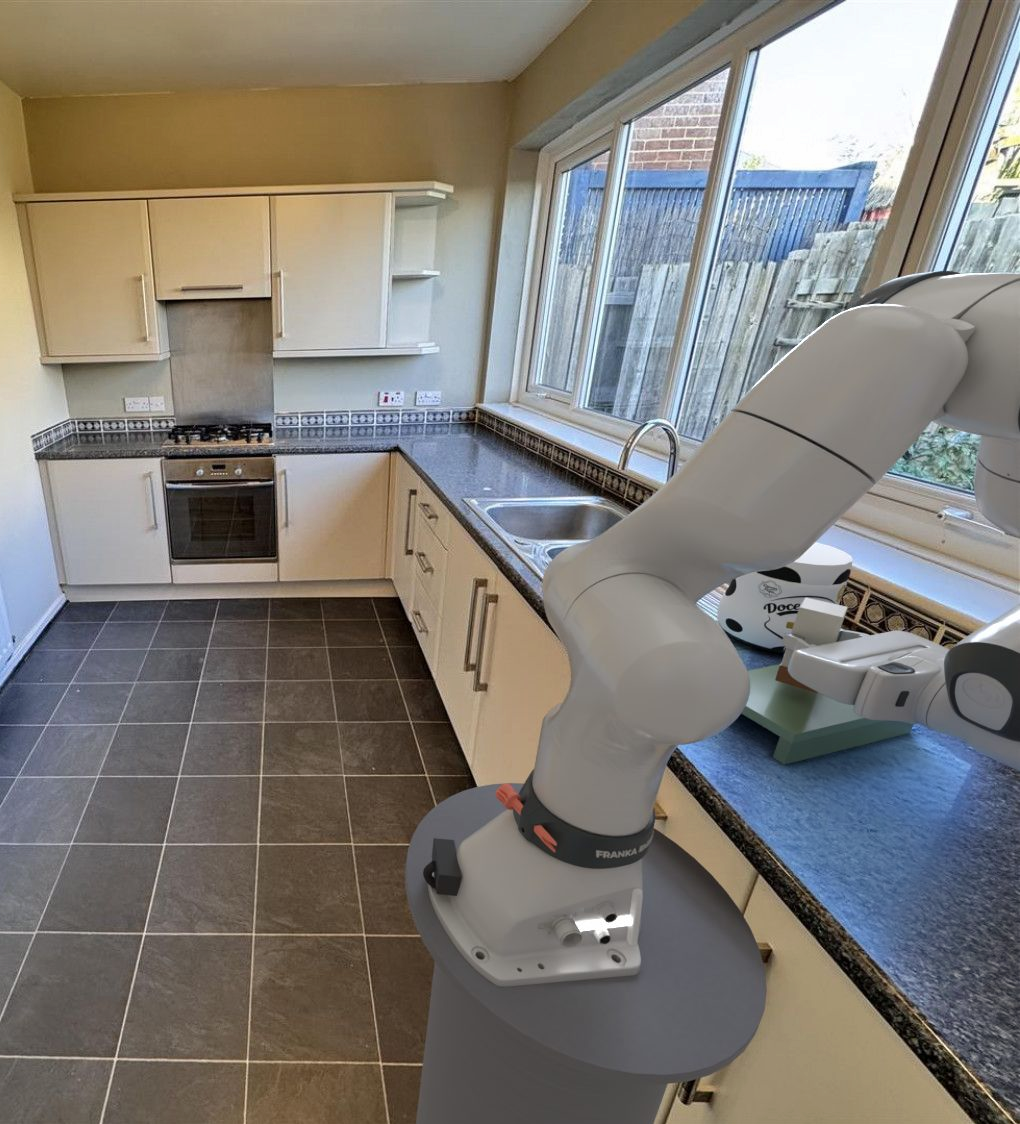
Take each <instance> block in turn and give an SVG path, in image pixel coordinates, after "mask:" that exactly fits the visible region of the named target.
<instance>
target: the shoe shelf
mask: <svg viewBox="0 0 1020 1124" xmlns="http://www.w3.org/2000/svg"><path fill="white" fill-rule="evenodd" d="M780 664H781V663H779V664H773V665H767V666H764V667H758V668H753V669H747V671H748V674H749V677H750V695H749V699H748V702H747V704H746V706H745V708H744V710H743V711H742V713H741V714H740V715H743V716H745V717H746V718H748V719H750V720H752V721H753V722H755V723H756V724H758V725H760V726H761V727H763V728H765V729H767V730H768V731H769V732H772V733H773V734H775V735H777V736H778V737H779V738H778V741H777V744H776V746H775V750H774V752H773V755H772V758H773V759H774V760H776V761H777V762H779V763H781V765H784V766H785V765H788V764H792V763H796V762H800V761H804V760H809V759H812V758H816V757H817V758H818V757H821V756H825V755H828V754H832V753H837V752H840V751H845V750H849V749H852V748H856V747H859V746H864V745H868V744H872V743H877V742H880V741H885V740H888V739H892V738H895V737H899V736H904V735H908V734H911V731H912V729H913V727H914V725H915V724H911V723H906V722H901V721H890V720H869V719H866V718H864V717H862V716H860V715H858V714H856V713H855V712H854V711H853V708H854V705H848V704H844V703H840V702H838V701H835V700H833V699H831V698H828V697H826V696H824V695H822V694H820V693H819V692H818V693H814V692H811V691H808V690H805V689H801V688H798V687H795V686H792V685H788V684H785V683H782V682H779V681H775V679H776V675H777V672H778V669H779V666H780Z"/></svg>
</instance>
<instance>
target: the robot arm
mask: <svg viewBox="0 0 1020 1124" xmlns="http://www.w3.org/2000/svg"><path fill="white" fill-rule="evenodd" d="M932 422H933V423H934V424H936V425H938V426H941V427H943V428H944V427H945V428H948V429H952V430H955V431H960V432H964V433H967V434H972V435H977V436H980V438H979V439H980V440H979V445H978V449H977V456H976V461H975V467H974V472H973V473H974V474H973V493H974V500H975V503H976V506H977V509H978V512H979V514H980V515H982V516H983V517H984V518H985V519H986V520H987V521H988V522H990V523H991V524H992V525H994V526H995V527H997V528H999V529H1000V530H1002V531H1003V532H1006V533H1008V534H1009V535H1012V536H1015V537H1016V538H1020V272H984V273H980V272H979V273H960V272H957V271H953V270H939V271H938V270H937V271H927V272H920V273H913V274H908V275H904V276H900V277H897V278H896V277H895V278H894V279H891V280H889V281H886V282H884V283H882V284H880V285H878V286H877V287H875V288H873V289H872V290H871V291H869V292H868V293H866V294H865V295H863V297H861V298H859V300H857V301H856V302H855V303H854V304H853V305H852V306H851V307H850V308H849V309H846V310H844V311H841V312H840V313H838V314H836V315H834V316H831V318H829V319H827V320H826V321H825V322H824V323H822V324H821V325H820V326H819V327H817V328H816V329H815V330H814V331H812V332H811V333H810V334H808V335H807V336H806V337H805V338H804V339H803V340H801V341H800V342H799V343H798V344H797V345H796V346H795V347H793V348H792V349H791V350H790V351H789V352H788V353H787V354H785V355H784V356H783V357H782V358H781V359H779V361H778V362H776V364H775V365H773V367H771V368H770V369H769V370H768V371H767V372H766V373H765V374H764V375H762V377H761V378H760V379H759V380H758V381H757V382H756V383H755V384H754V385H753V386H752V387H751V388H750V389H749V390H748V391H746V393H745V395H744V396H743V397H741V399H740V400H739V401H738V402H737V403H736V404H735V405H734V406H733V408H731V410H730V411H729V412H728V413H727V414H726V415H725V417H724V418H723V419H722V420H721V421H720V422H719V423H718V425H716V427H715V428H714V429H713V430H712V431H711V432H710V434H708V436H707V437H706V438H705V440H703V441H702V443H700V445H699V446H698V447H697V448H696V450H695V451H694V452H693V453H692V454H691V455H690V456H689V457H688V458H687V460H685V462H684V463H683V464H682V465H681V466H680V467H679V468H678V469H677V470H676V472H674V474H673V475H672V476H671V477H670V478H669V479H668V480H666V482H665V483H664V484H663V485H662V486H661V487H659V489H658V490H656V492H654V493H653V494H652V495H650V497H648V498H647V499H646V500H645V501H644V502H642V503H641V504H640V505H639V506H638V507H636V508H635V509H634V510H632V511H631V512H630V513H628V514H627V515H626V516H624V517H623V518H621V519H620V520H619V521H617V522H616V523H615V524H613V525H612V526H611V527H609V528H608V529H607V530H605V531H603V532H602V533H600V535H597V536H596V537H594V538H593V539H590V540H587V541H586V540H585V541H582V542H578V543H575V544H572V545H571V546H568V547H566V548H564V549H563V550H561V551H560V552H559V553H558V554H556V556H554V557H553V558H552V560H551V561H550V562H549V564H548V565H547V566H546V568H545V571H544V573H543V576H542V580H541V581H542V582H541V588H542V589H541V590H542V599H543V600H542V601H543V606H544V611H545V615H546V618H547V621H548V623H549V624H550V626H551V628H552V629H553V631H554V632H555V635H556V636H557V638H558V639H559V641H560V642H561V645H562V646H563V647H564V650H565V652H566V654H567V659H568V663H569V670H570V682H569V686H568V690H567V692H566V694H565V696H564V698H563V701H562V702H560V703H558V704H556V705H554V706H553V707H550V709H549V710H548V711H547V712H546V713H545V715H544V717H543V718H542V722H541V728H540V733H539V739H538V744H537V750H536V755H535V761H534V768H533V769H532V770H531V771H530V773H529V775H528V777H526V780H525V781H524V785H523V787H522V788H521V790H520V792H519V794H517V793H516V792H515V790H514V789H513V787H512V786H511V785H510V784H504V783H502V784H503V785H501V786H500V787H499V788H498V789H497V790H496V791H497V792H496V793H495V794H496V797H497V798H498V799H499V800H500V801H501V802H502V803H503V804H504V806H505V808H506V809H507V810H505V811H504V812H502V813H501V814H499V815H498V816H497V817H495V818H494V819H493V820H491V821H490V822H488V823H487V824H486V825H484V826H483V827H482V828H480V829H479V830H478V831H476V832H475V833H473V834H472V835H471V836H469V837H468V838H466V839H465V840H464V841H463V842H462V843H461V844H460V845H459V847H458V849H457V851H456V847H455V841H454V840H449V839H437V838H434V839H433V849H432V861H431V862H430V863H429V864H428V865H426V867H425V868H424V871H423V876H424V878H425V880H426V882H427V883H428V892H429V896H430V900H431V903H432V906H433V908H434V910H435V913H436V915H437V917H438V919H439V921H440V923H441V924H442V926H443V928H444V930H445V931H446V933H447V935H448V936H449V938H450V939H451V941H452V943H453V944H454V945H455V947H456V948H457V949H458V951H459V952H460V953H461V955H462V956H463V957H464V958H465V959H466V961H467V962H468V963H469V964H470V965H471V966H472V967H473V968H474V969H475V970H476V971H477V972H479V973H480V974H481V975H482V976H483V977H485V978H486V979H487V980H489V981H490V982H492V983H493V984H495V985H497V986H501V987H508V986H520V985H531V984H543V983H554V982H565V981H576V980H587V979H598V978H610V977H621V976H632V975H636V974H638V973H639V972H640V967H641V955H640V950H639V946H638V937H639V935H640V932H641V927H642V916H641V909H642V899H643V871H642V859H643V857H644V855H645V854H646V853H647V851H648V849H649V845H650V842H651V841H652V838H653V835H654V831H653V829H654V828H655V823H656V812H655V805H656V801H657V797H658V794H659V791H660V787H661V784H662V780H663V777H664V774H665V772H666V771H665V770H666V767H667V765H668V762H669V760H670V758H671V757H672V755H673V753H674V752H675V751H676V749H677V748H678V747H679V746H683V745H684V746H685V745H690V744H695V743H699V742H702V741H705V740H708V739H711V738H713V737H714V736H717V735H719V734H720V733H722V732H723V731H725V730H726V729H728V728H729V727H730V726H732V724H733V723H735V722H736V720H738V719H739V717H740V716H741V715H742V714H741V713H742V711H743V710H744V708H745V706H746V704H747V702H748V699H749V695H750V677H749V674H748V669H747V667H746V664H745V662H744V661H743V660H742V658H741V656H740V654H739V653H738V651H737V649H736V647H735V645H734V644H733V642H732V641H731V639H730V638H729V636H728V634H727V633H726V632H725V631H724V630H723V628H722V627H721V626H720V625H719V623H718V621H716V620H715V619H714V618H713V617H712V616H711V615H709V613H707V612H706V611H705V610H703V609H702V608H701V607H700V606H699V605H698V604H697V603H698V602H699V601H700V600H701V599H702V598H704V597H705V596H706V595H709V594H710V593H711V592H713V591H715V590H716V589H718V588H720V587H722V586H724V585H725V584H727V583H729V582H731V581H732V580H733V579H735V578H737V577H740V576H743V575H746V574H749V573H752V572H758V571H769V570H775V569H779V568H782V567H785V566H787V565H789V564H791V563H792V562H794V561H795V560H797V559H798V558H800V557H801V556H802V555H803V554H804V553H805V552H806V551H807V550H808V549H809V548H810V547H811V546H812V545H813V544H814V543H815V542H817V541H819V539H820V538H822V537H823V535H824V534H826V533H827V532H828V531H829V529H831V528H832V527H833V526H834V525H835V524H836V523H838V521H839V520H840V519H841V518H842V517H843V516H844V515H845V514H846V513H847V512H848V511H849V510H850V509H852V507H853V506H854V505H855V504H856V503H857V502H858V501H860V500H861V499H862V497H864V495H866V494H867V493H868V492H869V491H870V490H871V489H872V488H873V487H874V485H876V484H877V483H878V482H879V481H880V480H881V479H882V478H883V477H884V476H885V475H886V474H887V473H888V472H889V471H891V469H892V468H893V467H894V466H895V465H896V464H897V463H898V461H900V459H901V458H902V457H903V456H904V455H905V454H906V453H907V452H908V451H909V449H910V448H912V446H913V445H914V444H915V443H916V441H917V440H918V439H919V438H920V436H921V435H922V434H923V433H924V432H925V430H926V429H927V428H928V427H929V426H930V424H931V423H932ZM782 645H783V646H785V647H787V648H789V649H791V650H793V651H794V652H793V654H792V657H791V660H790V663H789V666H788V672H789V674H790V675H791V677H792V678H794V679H795V680H797V681H798V682H800V683H802V684H804V685H805V686H807V687H809V688H811V689H813V690H815V691H817V692H819V693H820V694H822V695H824V696H826V697H828V698H831V699H833V700H835V701H838V702H840V703H844V704H848V705H854V708H853V711H854V712H855V713H856V714H858V715H860V716H862V717H864V718H866V719H869V720H890V721H901V722H906V723H911V724H914V725H916V724H918V725H920V726H923V727H925V728H927V729H929V730H931V731H934V732H936V733H939V734H942V735H946V736H950V737H953V738H955V739H958V740H960V741H962V742H964V743H966V745H968V746H969V747H970V748H972V749H973V750H974V751H976V752H978V753H979V754H981V755H983V756H985V757H987V758H990V759H991V760H993V761H995V762H998V763H1001V764H1002V765H1005V766H1006V767H1009V768H1011V769H1014V770H1015V771H1018V772H1020V603H1018V604H1016V605H1015V606H1014V607H1012V608H1010V609H1009V610H1007V611H1005V612H1004V613H1002V614H1000V616H998V617H997V618H995V619H993V620H992V621H990V622H987V624H984V625H983V626H981V627H979V628H978V629H977V630H975V631H973V632H971V633H970V634H968V635H967V636H966V637H964V638H963V639H961V640H960V641H958V642H957V643H956V644H954V645H953V646H952V647H951V648H950V649H949V648H947V647H946V646H943V645H941V644H939V643H936V642H934V641H931V640H930V639H927V638H925V637H922V636H921V635H918V634H914V633H912V632H908V631H903V630H898V629H897V630H890V631H886V632H881V633H875V634H871V635H870V634H868V633H865V632H859V631H854V630H849V629H844V628H842V627H841V629H840V631H839V634H838V637H837V640H836V642H834V643H829V644H824V645H819V646H816V645H814V644H810V645H809V644H808V643H807V642H805V637H802V636H799V635H797V634H795V633H793V634H787V635H784V637H783V640H782ZM477 956H479V957H481V958H482V959H483V960H480V959H478V958H477ZM612 959H613V960H616V961H617V962H618V963H616V962H614V961H613V960H612Z"/></svg>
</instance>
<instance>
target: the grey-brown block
mask: <svg viewBox="0 0 1020 1124" xmlns="http://www.w3.org/2000/svg"><path fill="white" fill-rule="evenodd" d="M848 608H849V607H848V606H845V605H841V604H839V605H837V604H833V603H828V602H824V601H819V600H815V599H810V598H805V599H804V601H803V602H802V604H801V606H800V607H799V610H798V614H797V617H796V620H795V623H794V626H793V629H792V632H791V634H793V633H795V634H797V635H799V636H802V637H805V642H807V643H808V644H809V645H810V644H814V645H816V646H819V645H824V644H829V643H834V642H836V640H837V637H838V634H839V631H840V629H841V628H842V626H843V623H844V620H845V617H846V614H847V611H848ZM793 652H794V651H793V650H791V649H789V648H786V651H785V654H783V656H782V660H781V662H780V663H779V664H780V666H779V669H778V672H777V675H776V679H775V681H779V682H782V683H785V684H788V685H792V686H795V687H798V688H801V689H805V690H808V691H811V692H814V693H818V692H817V691H815V690H813V689H811V688H809V687H807V686H805V685H804V684H802V683H800V682H798V681H797V680H795V679H794V678H792V677H791V675H790V674H789V672H788V666H789V663H790V660H791V657H792V654H793Z"/></svg>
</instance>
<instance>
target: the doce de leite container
mask: <svg viewBox="0 0 1020 1124" xmlns="http://www.w3.org/2000/svg"><path fill="white" fill-rule="evenodd" d="M852 568H853V557H852V555H850V554H849V553H848V552H846V551H844V550H842V549H840V548H836V547H835V546H832V545H828V544H826V543H825V544H824V543H821V542H817V541H816V542H815V543H814V544H813V545H812V546H811V547H810V548H809V549H808V550H807V551H806V552H805V553H804V554H803V555H802V556H801V557H800V558H798V559H797V560H795V561H794V562H792V563H791V564H789V565H787V566H785V567H782V568H779V569H775V570H769V571H758V572H752V573H749V574H746V575H743V576H740V577H737V578H735V579H733V580H731V581H730V584H729V585H728V587H727V588H726V590H725V592H724V593H723V594H722V596H721V598H720V600H719V602H718V606H717V612H716V613H717V615H716V618H717V623H718V624H719V625H720V626H721V627H722V628H723V630H724V631H725V633H726V635H729V636H731V637H732V638H733V639H735V640H737V641H739V642H742V643H744V644H746V645H748V646H751V647H755V648H757V649H761V650H764V651H768V652H773V653H779V654H783V655H784V654H785V651H786V648H787V647H785V646H783V645H782V640H783V637H784V635H787V634H791V632H792V629H793V626H794V623H795V620H796V617H797V614H798V610H799V607H800V606H801V604H802V602H803V601H804V599H805V598H810V599H815V600H819V601H824V602H828V603H833V604H837V605H840V602H841V600H842V597H843V594H844V592H845V590H846V587H847V585H848V580H849V578H850V575H851V571H852Z"/></svg>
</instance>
